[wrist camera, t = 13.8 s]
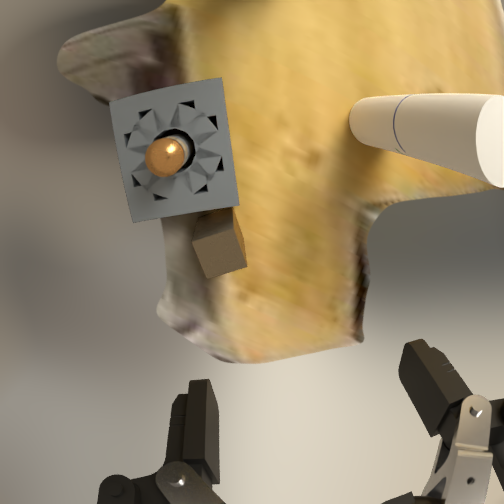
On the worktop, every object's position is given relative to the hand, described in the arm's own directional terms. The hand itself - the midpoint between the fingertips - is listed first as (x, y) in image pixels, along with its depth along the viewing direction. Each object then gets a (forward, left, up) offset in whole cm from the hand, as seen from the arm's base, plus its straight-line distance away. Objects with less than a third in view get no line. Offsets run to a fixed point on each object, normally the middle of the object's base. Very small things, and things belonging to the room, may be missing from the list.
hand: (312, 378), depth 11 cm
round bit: (-7, -9, -33) cm, 35 cm away
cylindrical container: (-8, +18, -33) cm, 39 cm away
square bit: (+5, -5, -33) cm, 34 cm away
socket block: (-7, -9, -33) cm, 35 cm away
